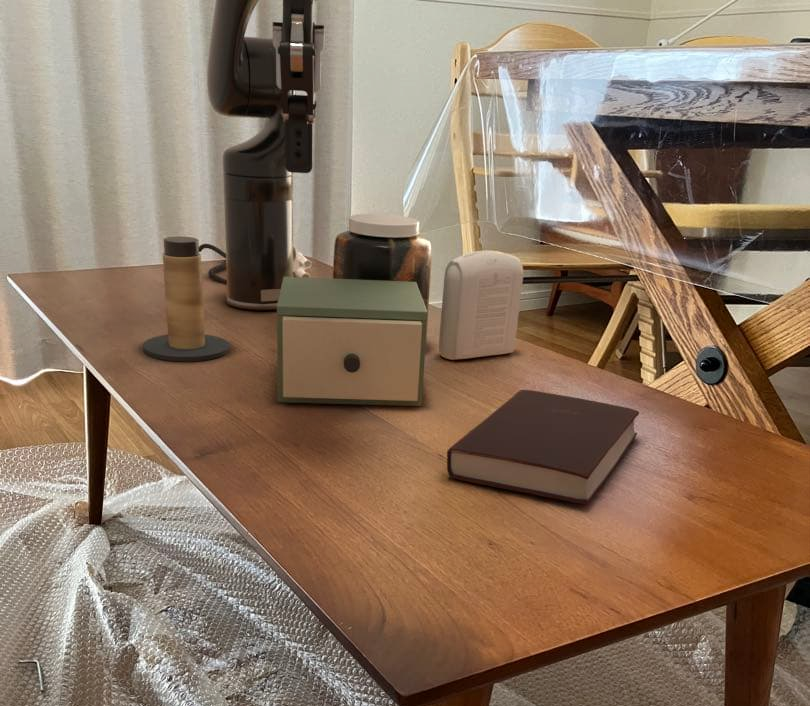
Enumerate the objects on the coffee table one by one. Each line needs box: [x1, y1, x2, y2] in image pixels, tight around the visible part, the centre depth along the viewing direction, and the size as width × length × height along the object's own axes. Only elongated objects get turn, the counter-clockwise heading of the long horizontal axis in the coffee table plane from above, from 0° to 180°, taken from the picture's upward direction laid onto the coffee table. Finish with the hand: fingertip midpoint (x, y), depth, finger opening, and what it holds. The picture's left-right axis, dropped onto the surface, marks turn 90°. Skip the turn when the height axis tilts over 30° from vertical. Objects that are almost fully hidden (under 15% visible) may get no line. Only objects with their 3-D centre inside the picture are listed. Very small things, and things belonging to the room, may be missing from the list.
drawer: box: [283, 316, 422, 401], centre depth 96 cm, size 14×14×8 cm
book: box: [446, 389, 640, 505], centre depth 83 cm, size 12×19×3 cm, turn 155°
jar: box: [332, 213, 432, 340], centre depth 111 cm, size 12×12×15 cm
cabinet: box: [276, 276, 429, 407], centre depth 98 cm, size 14×15×10 cm
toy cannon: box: [293, 245, 313, 278], centre depth 147 cm, size 8×14×5 cm
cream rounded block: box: [438, 249, 524, 361], centre depth 110 cm, size 10×4×12 cm, turn 123°
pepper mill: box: [162, 236, 206, 350], centre depth 105 cm, size 4×4×12 cm
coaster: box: [142, 334, 231, 363], centre depth 108 cm, size 10×10×1 cm
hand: (299, 171), depth 76 cm, fingers closed
